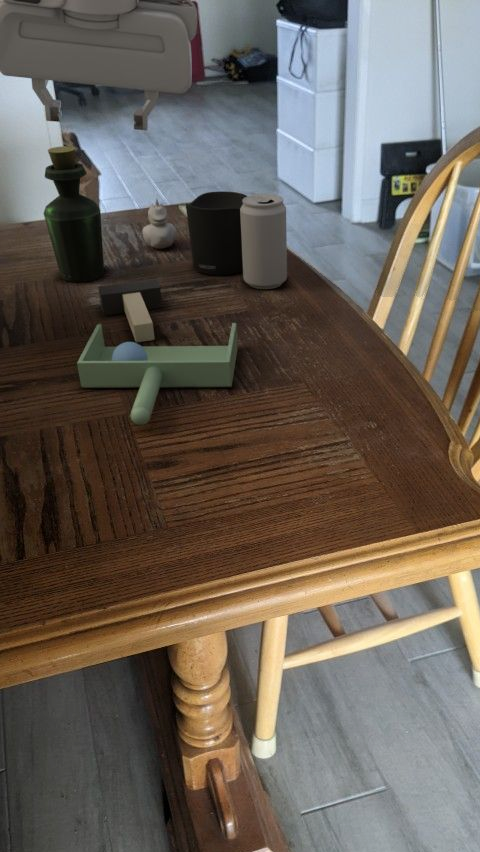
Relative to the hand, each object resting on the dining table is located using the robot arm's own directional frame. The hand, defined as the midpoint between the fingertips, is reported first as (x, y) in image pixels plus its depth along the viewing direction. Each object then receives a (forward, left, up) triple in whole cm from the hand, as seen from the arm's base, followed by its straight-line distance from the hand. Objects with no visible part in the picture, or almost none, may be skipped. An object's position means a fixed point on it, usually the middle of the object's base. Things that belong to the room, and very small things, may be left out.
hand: (97, 123), depth 86 cm
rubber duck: (-1, +35, -25) cm, 43 cm away
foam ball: (+4, -11, -21) cm, 25 cm away
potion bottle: (-11, +22, -25) cm, 35 cm away
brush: (-1, +10, -24) cm, 26 cm away
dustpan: (+6, -15, -25) cm, 30 cm away
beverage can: (+17, +18, -25) cm, 35 cm away
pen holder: (+10, +25, -25) cm, 37 cm away
